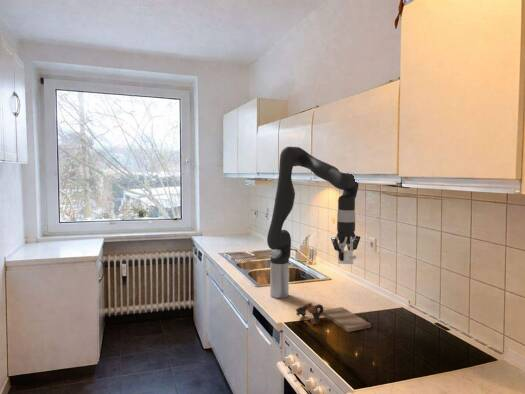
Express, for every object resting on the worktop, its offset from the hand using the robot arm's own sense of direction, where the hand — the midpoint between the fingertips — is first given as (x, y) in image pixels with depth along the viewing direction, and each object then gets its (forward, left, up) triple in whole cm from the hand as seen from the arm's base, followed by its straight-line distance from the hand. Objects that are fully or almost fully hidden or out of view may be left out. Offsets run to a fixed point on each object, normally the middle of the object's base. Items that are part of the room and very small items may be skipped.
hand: (345, 259), depth 162 cm
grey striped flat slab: (+3, -2, -25) cm, 25 cm away
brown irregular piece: (-3, -15, -25) cm, 30 cm away
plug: (+1, 0, -1) cm, 2 cm away
